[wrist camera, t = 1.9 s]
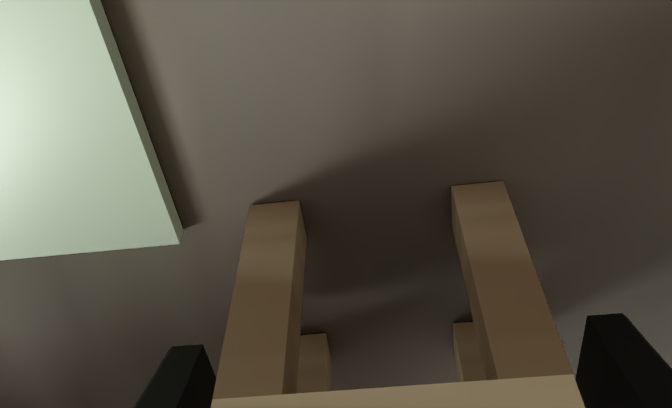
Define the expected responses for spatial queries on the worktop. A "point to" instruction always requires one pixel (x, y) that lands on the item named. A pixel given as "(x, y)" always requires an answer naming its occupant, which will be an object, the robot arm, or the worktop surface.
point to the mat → (73, 138)
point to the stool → (468, 338)
